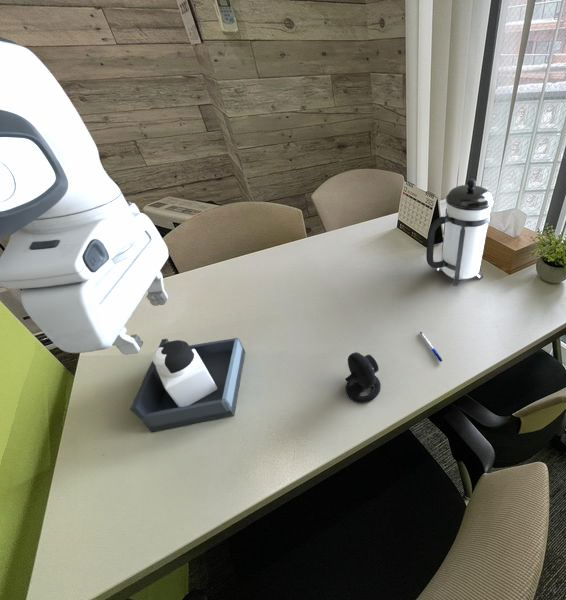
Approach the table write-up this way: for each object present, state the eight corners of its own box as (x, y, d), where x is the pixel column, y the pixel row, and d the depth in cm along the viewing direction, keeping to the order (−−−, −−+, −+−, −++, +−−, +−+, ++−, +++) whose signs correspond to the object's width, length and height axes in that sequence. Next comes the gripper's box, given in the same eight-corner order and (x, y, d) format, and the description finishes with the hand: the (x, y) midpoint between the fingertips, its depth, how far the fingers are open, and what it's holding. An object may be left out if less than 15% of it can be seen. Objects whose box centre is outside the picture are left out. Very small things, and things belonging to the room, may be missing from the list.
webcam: (388, 390, 69) (387, 359, 63) (360, 411, 65) (355, 380, 59) (366, 369, 74) (363, 337, 68) (338, 387, 70) (332, 355, 64)
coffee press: (441, 257, 112) (449, 167, 93) (487, 267, 107) (505, 174, 88) (424, 284, 100) (429, 186, 81) (475, 296, 95) (493, 196, 76)
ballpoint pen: (443, 361, 75) (443, 358, 75) (440, 362, 75) (440, 359, 74) (421, 333, 83) (421, 330, 82) (418, 334, 82) (418, 331, 82)
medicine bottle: (206, 369, 71) (184, 330, 64) (218, 389, 67) (195, 350, 60) (170, 388, 67) (142, 348, 60) (181, 410, 63) (151, 371, 56)
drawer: (245, 352, 78) (234, 327, 73) (234, 416, 64) (220, 392, 60) (177, 363, 75) (162, 339, 70) (151, 433, 62) (129, 409, 57)
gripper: (99, 195, 42) (151, 282, 50) (-24, 286, 26) (81, 390, 35) (154, 191, 43) (195, 277, 51) (66, 276, 27) (146, 380, 36)
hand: (148, 324), depth 43 cm, fingers open, 8 cm apart
